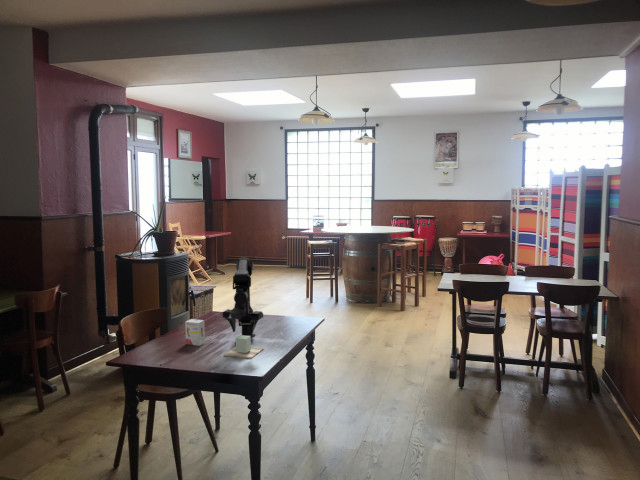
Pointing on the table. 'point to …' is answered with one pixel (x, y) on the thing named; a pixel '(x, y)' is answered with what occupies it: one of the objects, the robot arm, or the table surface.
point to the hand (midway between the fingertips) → (243, 332)
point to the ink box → (195, 332)
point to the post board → (247, 355)
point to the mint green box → (243, 344)
